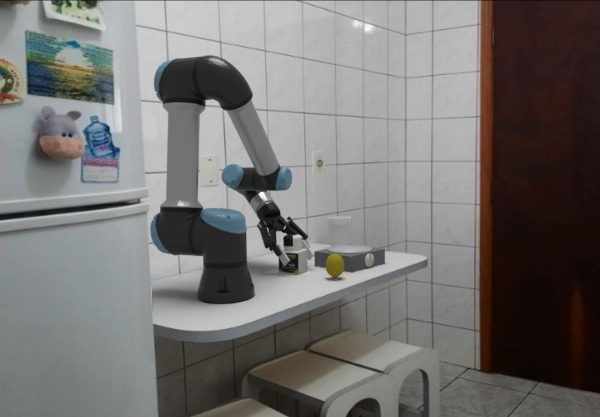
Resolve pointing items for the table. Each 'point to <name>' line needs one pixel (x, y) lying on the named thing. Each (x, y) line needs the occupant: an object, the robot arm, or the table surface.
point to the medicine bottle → (294, 255)
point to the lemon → (335, 265)
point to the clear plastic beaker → (339, 229)
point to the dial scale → (352, 256)
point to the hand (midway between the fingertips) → (299, 260)
